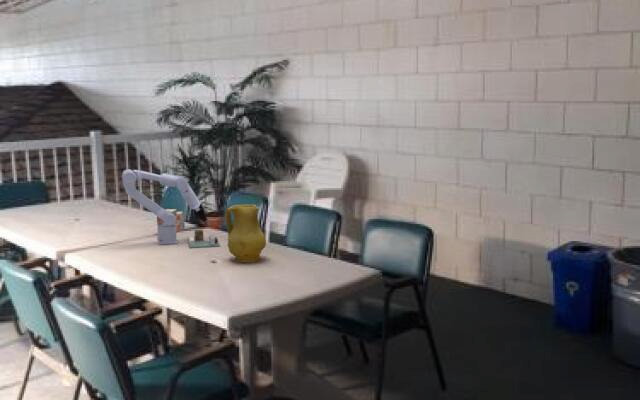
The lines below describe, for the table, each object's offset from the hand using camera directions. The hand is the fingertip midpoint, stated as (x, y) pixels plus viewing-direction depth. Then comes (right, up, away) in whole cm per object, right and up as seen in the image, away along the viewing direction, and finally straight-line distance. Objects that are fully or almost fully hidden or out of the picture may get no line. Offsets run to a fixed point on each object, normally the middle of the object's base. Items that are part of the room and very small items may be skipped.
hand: (204, 219), depth 335 cm
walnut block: (-3, -11, +1) cm, 11 cm away
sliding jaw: (+6, -11, -9) cm, 16 cm away
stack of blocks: (-22, -8, +23) cm, 33 cm away
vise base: (+1, -12, -10) cm, 16 cm away
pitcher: (+26, -17, -38) cm, 49 cm away
